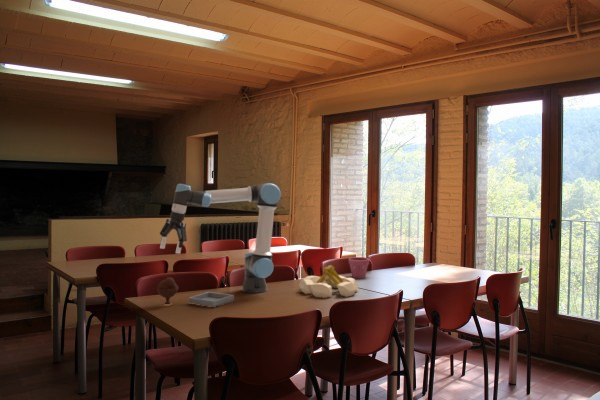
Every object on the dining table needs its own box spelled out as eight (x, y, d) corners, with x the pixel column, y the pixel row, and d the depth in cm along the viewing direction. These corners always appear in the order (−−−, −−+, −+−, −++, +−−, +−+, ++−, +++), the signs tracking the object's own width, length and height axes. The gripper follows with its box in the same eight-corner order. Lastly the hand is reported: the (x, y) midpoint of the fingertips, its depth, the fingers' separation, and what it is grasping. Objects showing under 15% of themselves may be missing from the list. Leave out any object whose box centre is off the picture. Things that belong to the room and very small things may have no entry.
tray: (233, 301, 269) (233, 295, 269) (213, 308, 254) (213, 301, 254) (209, 297, 278) (209, 291, 277) (188, 304, 263) (188, 297, 263)
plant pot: (358, 274, 355) (358, 256, 354) (373, 277, 344) (373, 258, 344) (344, 276, 346) (344, 258, 345) (359, 279, 335) (359, 260, 334)
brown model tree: (180, 302, 266) (180, 275, 265) (175, 308, 254) (175, 278, 254) (160, 302, 265) (160, 275, 265) (154, 308, 254) (154, 279, 254)
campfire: (309, 300, 275) (309, 269, 275) (293, 288, 308) (293, 260, 307) (367, 296, 285) (367, 267, 284) (345, 285, 317) (345, 258, 317)
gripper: (158, 208, 272) (150, 246, 271) (187, 214, 257) (179, 255, 256) (169, 210, 278) (161, 247, 277) (198, 216, 263) (190, 256, 262)
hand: (169, 251), depth 267 cm, fingers open, 13 cm apart
